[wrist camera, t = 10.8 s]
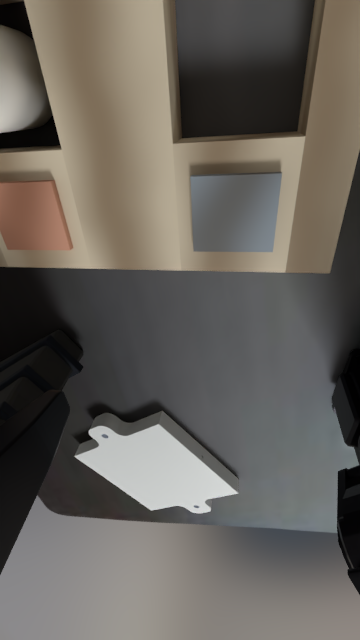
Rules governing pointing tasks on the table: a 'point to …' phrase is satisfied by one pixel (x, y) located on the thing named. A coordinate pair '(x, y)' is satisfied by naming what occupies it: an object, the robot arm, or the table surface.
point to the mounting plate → (156, 462)
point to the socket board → (175, 153)
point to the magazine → (37, 372)
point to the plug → (21, 83)
